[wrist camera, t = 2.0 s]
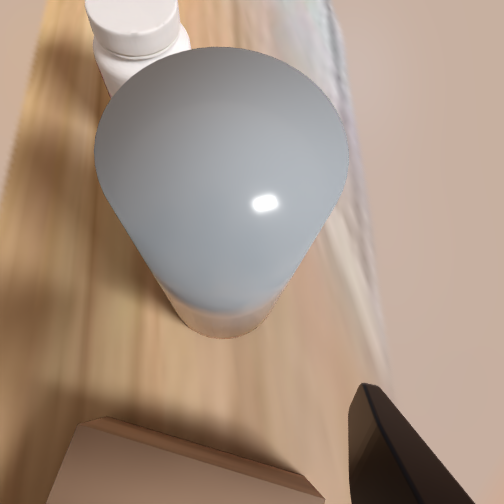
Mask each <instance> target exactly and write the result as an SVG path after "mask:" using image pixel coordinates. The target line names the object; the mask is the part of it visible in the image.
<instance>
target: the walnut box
mask: <svg viewBox="0 0 504 504" xmlns="http://www.w3.org/2000/svg"><path fill="white" fill-rule="evenodd" d="M324 503H325V498H324V497H323V496H322V495H321V494H320V493H319V492H318V491H317V490H316V489H315V487H314V486H313V485H312V484H311V483H310V482H309V481H308V480H307V479H306V478H305V476H302V475H299V474H295V473H292V472H289V471H285V470H282V469H279V468H276V467H272V466H269V465H266V464H262V463H259V462H256V461H253V460H249V459H246V458H243V457H239V456H236V455H233V454H229V453H226V452H223V451H220V450H216V449H213V448H210V447H206V446H203V445H200V444H196V443H193V442H190V441H187V440H183V439H180V438H177V437H173V436H170V435H167V434H164V433H160V432H157V431H154V430H150V429H147V428H144V427H140V426H137V425H134V424H131V423H127V422H124V421H121V420H117V419H114V418H111V417H103V418H99V419H95V420H91V421H87V422H83V423H79V424H78V425H77V427H76V430H75V432H74V435H73V437H72V440H71V442H70V444H69V447H68V449H67V452H66V454H65V457H64V459H63V462H62V464H61V467H60V469H59V472H58V474H57V477H56V479H55V482H54V484H53V487H52V489H51V492H50V494H49V497H48V499H47V502H46V504H324Z"/></svg>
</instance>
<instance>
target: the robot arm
mask: <svg viewBox="0 0 504 504" xmlns="http://www.w3.org/2000/svg"><path fill="white" fill-rule="evenodd" d="M348 441H349V484H350V494H351V502H352V504H475V503H474V502H473V500H472V499H471V498H470V497H469V496H468V494H467V493H466V492H465V491H464V489H463V488H462V487H461V486H460V485H459V483H458V482H457V481H456V480H455V478H454V477H453V476H452V475H451V474H450V473H449V471H448V470H447V469H446V467H445V466H444V465H443V464H442V463H441V461H440V460H439V459H438V458H437V456H436V455H435V454H434V453H433V452H432V450H431V449H430V448H429V447H428V446H427V444H426V443H425V442H424V441H423V440H422V438H421V437H420V436H419V435H418V433H417V432H416V431H415V430H414V429H413V427H412V426H411V425H410V424H409V422H408V421H407V420H406V419H405V417H404V416H403V415H402V414H401V413H400V411H399V410H398V409H397V408H396V406H395V405H394V404H393V403H392V402H391V400H390V399H389V398H388V397H387V395H386V394H385V393H384V392H383V391H382V389H381V388H380V387H378V386H376V385H372V384H368V383H361V384H360V385H359V387H358V389H357V392H356V394H355V396H354V398H353V401H352V403H351V405H350V408H349V413H348Z"/></svg>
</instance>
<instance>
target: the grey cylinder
mask: <svg viewBox="0 0 504 504" xmlns="http://www.w3.org/2000/svg"><path fill="white" fill-rule="evenodd" d="M94 157H95V167H96V172H97V176H98V180H99V183H100V185H101V188H102V190H103V193H104V195H105V197H106V198H107V200H108V202H109V204H110V205H111V207H112V209H113V210H114V212H115V214H116V215H117V217H118V218H119V220H120V222H121V223H122V225H123V227H124V228H125V230H126V231H127V233H128V235H129V236H130V238H131V240H132V241H133V243H134V244H135V246H136V248H137V249H138V251H139V253H140V254H141V256H142V257H143V259H144V261H145V262H146V264H147V266H148V267H149V269H150V271H151V272H152V274H153V275H154V277H155V279H156V280H157V282H158V284H159V285H160V287H161V288H162V290H163V292H164V293H165V295H166V297H167V298H168V300H169V301H170V303H171V305H172V306H173V308H174V310H175V311H176V313H177V314H178V316H179V317H180V319H181V320H182V321H183V322H184V323H185V324H186V325H187V326H188V327H189V328H191V329H192V330H194V331H195V332H197V333H199V334H201V335H204V336H207V337H211V338H216V339H230V338H236V337H239V336H242V335H245V334H247V333H249V332H251V331H252V330H254V329H255V328H257V327H258V326H259V325H260V324H261V323H262V322H263V321H264V320H265V319H266V318H267V316H268V315H269V313H270V312H271V310H272V309H273V307H274V305H275V304H276V302H277V300H278V299H279V297H280V296H281V294H282V292H283V291H284V289H285V287H286V286H287V284H288V282H289V281H290V279H291V277H292V276H293V274H294V273H295V271H296V269H297V268H298V266H299V264H300V263H301V261H302V259H303V258H304V256H305V254H306V253H307V251H308V250H309V248H310V246H311V245H312V243H313V241H314V240H315V238H316V236H317V235H318V233H319V232H320V230H321V228H322V227H323V225H324V223H325V222H326V220H327V218H328V217H329V215H330V213H331V212H332V210H333V209H334V207H335V205H336V204H337V201H338V199H339V197H340V195H341V193H342V191H343V188H344V185H345V181H346V178H347V172H348V165H349V149H348V143H347V137H346V133H345V130H344V127H343V124H342V121H341V119H340V117H339V115H338V113H337V111H336V109H335V108H334V106H333V104H332V103H331V101H330V100H329V98H328V97H327V96H326V95H325V94H324V93H323V91H322V90H321V89H320V88H319V87H318V86H317V85H316V84H315V83H314V82H313V81H312V80H311V79H309V78H308V77H307V76H305V75H304V74H303V73H301V72H300V71H299V70H297V69H295V68H294V67H292V66H290V65H288V64H287V63H285V62H283V61H280V60H278V59H276V58H274V57H271V56H268V55H265V54H262V53H259V52H255V51H251V50H246V49H240V48H231V47H207V48H197V49H192V50H186V51H182V52H179V53H175V54H172V55H169V56H167V57H164V58H162V59H159V60H157V61H155V62H153V63H151V64H150V65H148V66H146V67H144V68H143V69H141V70H140V71H139V72H137V73H136V74H134V75H133V76H132V77H131V78H130V79H128V80H127V81H126V82H125V83H124V84H123V85H122V86H121V87H120V88H119V90H118V91H117V92H116V93H115V94H114V96H113V97H112V98H111V100H110V102H109V103H108V105H107V106H106V108H105V110H104V112H103V114H102V117H101V119H100V121H99V125H98V129H97V132H96V136H95V146H94Z"/></svg>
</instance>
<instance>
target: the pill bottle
mask: <svg viewBox="0 0 504 504" xmlns="http://www.w3.org/2000/svg"><path fill="white" fill-rule="evenodd" d="M85 8H86V12H87V15H88V18H89V21H90V25H91V28H92V31H93V33H94V39H93V52H94V56H95V59H96V62H97V65H98V68H99V70H100V73H101V75H102V78H103V80H104V83H105V85H106V88H107V90H108V92H109V95H110V97H111V98H112V97H113V96H114V94H115V93H116V92H117V91H118V90H119V88H120V87H121V86H122V85H123V84H124V83H125V82H126V81H127V80H128V79H130V78H131V77H132V76H133V75H134V74H136V73H137V72H139V71H140V70H141V69H143V68H144V67H146V66H148V65H150V64H151V63H153V62H155V61H157V60H159V59H162V58H164V57H167V56H169V55H172V54H175V53H179V52H182V51H186V50H191V45H190V40H189V37H188V34H187V32H186V30H185V28H184V27H183V25H182V24H181V23H180V17H179V8H178V1H177V0H85Z"/></svg>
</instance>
